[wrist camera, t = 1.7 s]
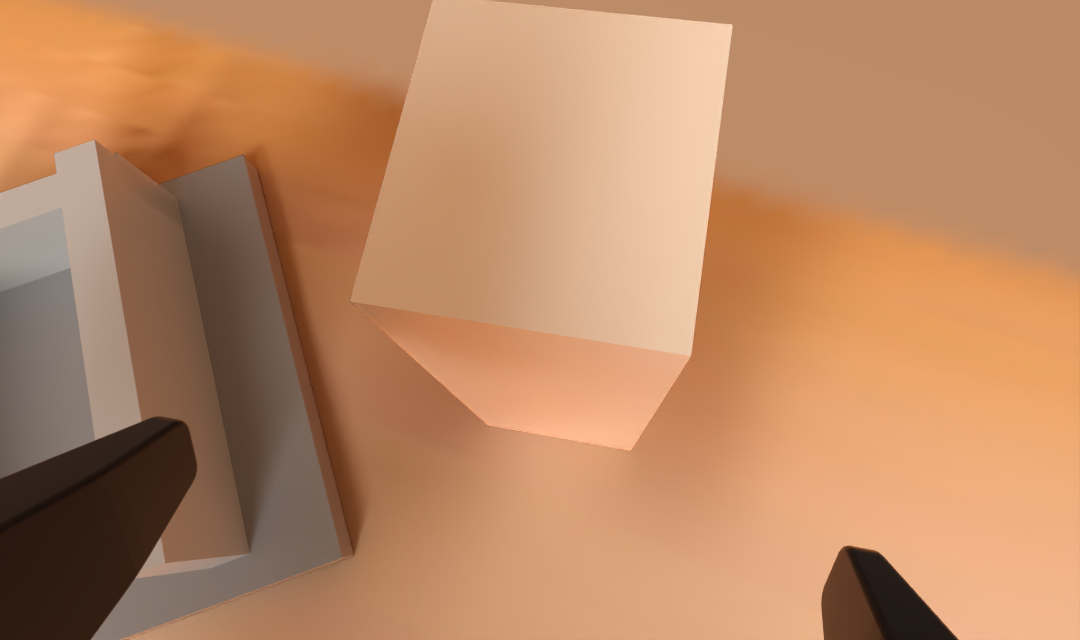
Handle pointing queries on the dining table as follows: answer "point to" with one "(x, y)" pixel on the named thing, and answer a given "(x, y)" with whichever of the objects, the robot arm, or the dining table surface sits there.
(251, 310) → the slot rack
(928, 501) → the dining table surface
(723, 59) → the cream block
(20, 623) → the robot arm
